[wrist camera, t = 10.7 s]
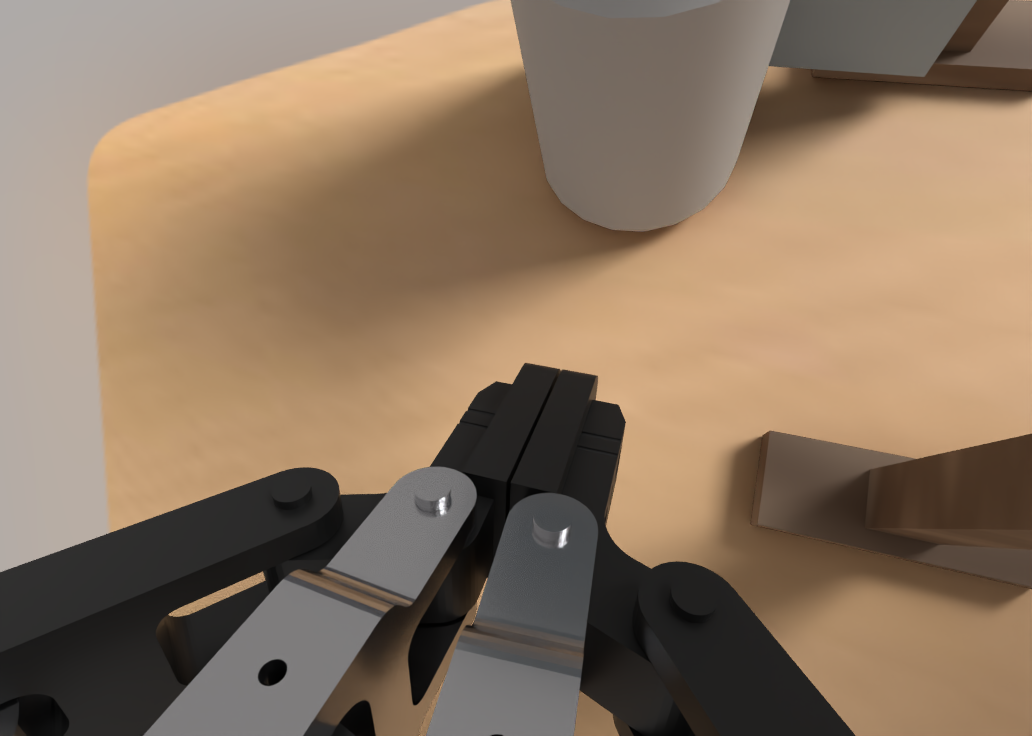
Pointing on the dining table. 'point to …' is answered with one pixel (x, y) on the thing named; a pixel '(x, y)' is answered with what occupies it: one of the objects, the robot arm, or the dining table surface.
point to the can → (643, 99)
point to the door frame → (939, 478)
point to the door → (867, 34)
